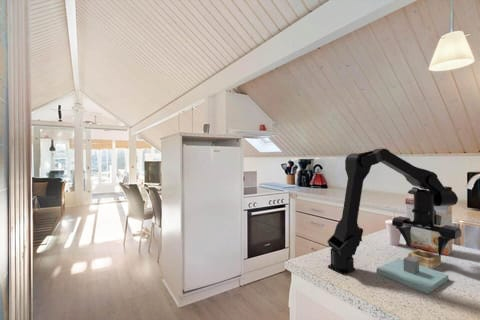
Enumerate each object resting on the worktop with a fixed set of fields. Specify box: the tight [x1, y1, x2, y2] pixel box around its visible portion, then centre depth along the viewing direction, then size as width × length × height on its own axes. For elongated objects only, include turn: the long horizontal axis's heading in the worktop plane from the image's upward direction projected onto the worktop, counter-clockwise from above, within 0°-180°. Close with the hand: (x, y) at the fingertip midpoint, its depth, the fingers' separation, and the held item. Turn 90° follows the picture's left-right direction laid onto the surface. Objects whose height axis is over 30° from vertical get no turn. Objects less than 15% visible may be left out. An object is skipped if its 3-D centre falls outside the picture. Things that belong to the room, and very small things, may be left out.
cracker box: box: [404, 194, 453, 256], centre depth 96 cm, size 14×6×21 cm, turn 34°
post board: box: [376, 256, 449, 295], centre depth 75 cm, size 14×14×6 cm
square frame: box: [407, 248, 442, 270], centre depth 84 cm, size 7×7×3 cm
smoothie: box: [384, 211, 402, 247], centre depth 102 cm, size 6×6×14 cm
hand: (424, 250), depth 84 cm, fingers open, 9 cm apart
